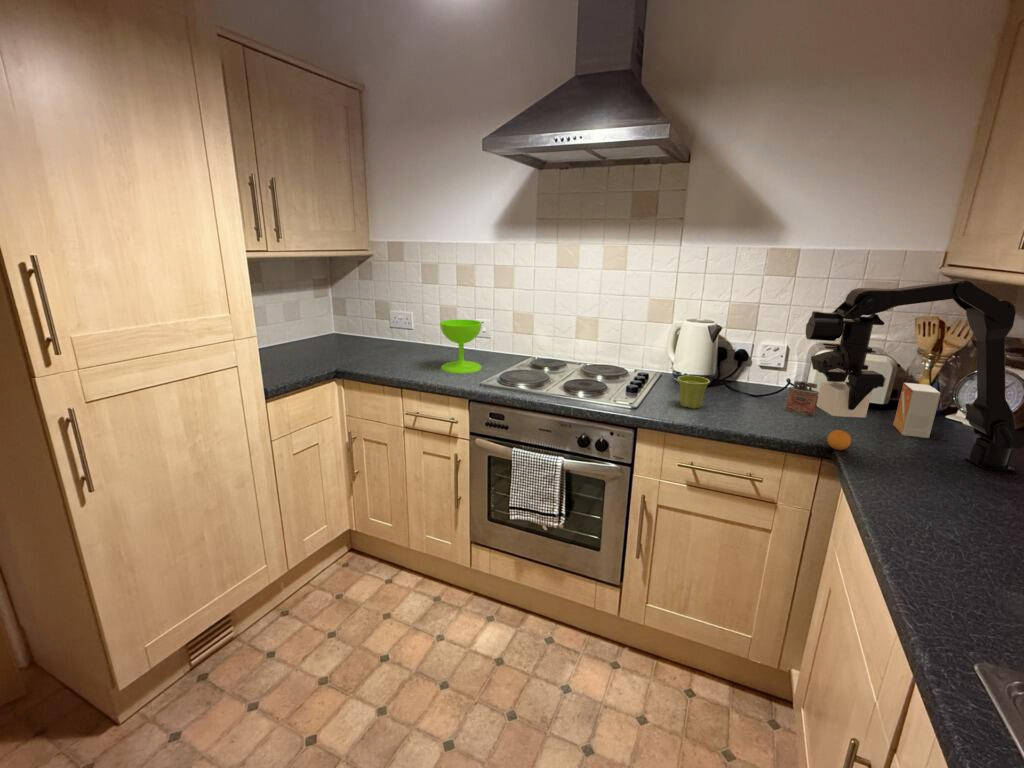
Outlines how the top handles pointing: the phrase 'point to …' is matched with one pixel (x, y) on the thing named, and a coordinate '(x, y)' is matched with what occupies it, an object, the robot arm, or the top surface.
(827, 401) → the cream cube
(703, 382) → the plant pot
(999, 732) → the top surface
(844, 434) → the ball
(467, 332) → the wineglass
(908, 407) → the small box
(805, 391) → the lighter
